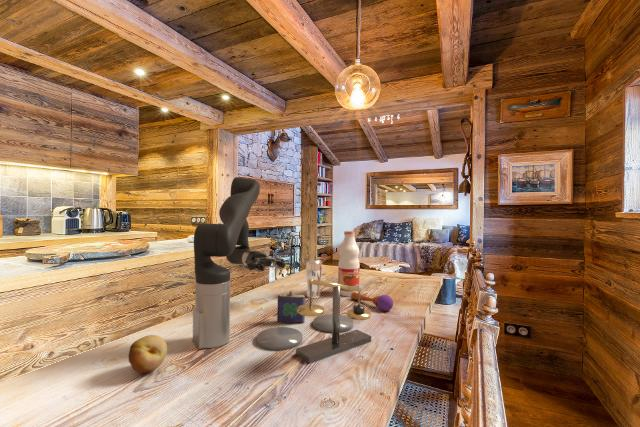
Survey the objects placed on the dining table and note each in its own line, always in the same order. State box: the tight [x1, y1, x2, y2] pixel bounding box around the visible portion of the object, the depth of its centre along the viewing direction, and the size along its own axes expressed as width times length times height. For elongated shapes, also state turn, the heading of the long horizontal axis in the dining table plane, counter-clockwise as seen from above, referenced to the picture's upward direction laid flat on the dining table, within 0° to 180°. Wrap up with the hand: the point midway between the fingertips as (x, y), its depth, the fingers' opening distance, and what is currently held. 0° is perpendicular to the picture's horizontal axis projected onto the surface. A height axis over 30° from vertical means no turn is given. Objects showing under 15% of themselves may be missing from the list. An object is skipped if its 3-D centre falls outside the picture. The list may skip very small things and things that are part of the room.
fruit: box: [128, 334, 168, 374], centre depth 71 cm, size 8×8×8 cm
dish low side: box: [312, 313, 354, 334], centre depth 101 cm, size 13×13×1 cm
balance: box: [295, 279, 372, 365], centre depth 85 cm, size 24×7×20 cm, turn 127°
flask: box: [276, 289, 306, 325], centre depth 103 cm, size 9×3×11 cm, turn 88°
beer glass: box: [305, 260, 323, 299], centre depth 133 cm, size 7×7×15 cm
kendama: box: [350, 292, 394, 312], centre depth 122 cm, size 6×6×20 cm
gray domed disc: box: [256, 326, 303, 351], centre depth 89 cm, size 13×13×1 cm
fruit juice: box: [337, 230, 361, 298], centre depth 138 cm, size 9×9×28 cm
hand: (273, 266), depth 112 cm, fingers open, 8 cm apart
